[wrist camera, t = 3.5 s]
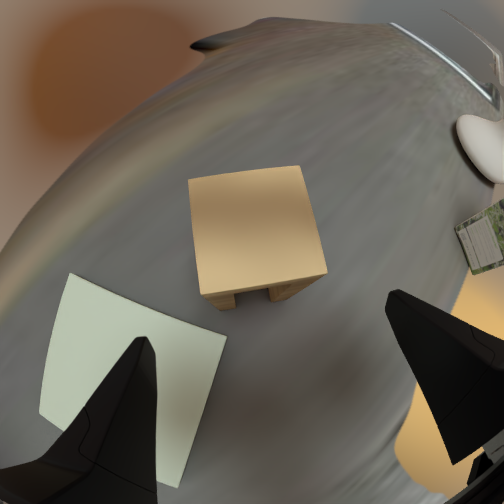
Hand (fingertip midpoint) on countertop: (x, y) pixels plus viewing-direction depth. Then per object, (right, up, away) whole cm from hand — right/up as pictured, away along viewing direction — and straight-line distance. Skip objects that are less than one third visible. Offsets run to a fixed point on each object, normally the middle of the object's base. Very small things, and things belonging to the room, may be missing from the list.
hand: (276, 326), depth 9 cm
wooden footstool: (-1, +1, +11) cm, 12 cm away
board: (-11, -8, +9) cm, 16 cm away
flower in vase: (+32, +17, +18) cm, 40 cm away
